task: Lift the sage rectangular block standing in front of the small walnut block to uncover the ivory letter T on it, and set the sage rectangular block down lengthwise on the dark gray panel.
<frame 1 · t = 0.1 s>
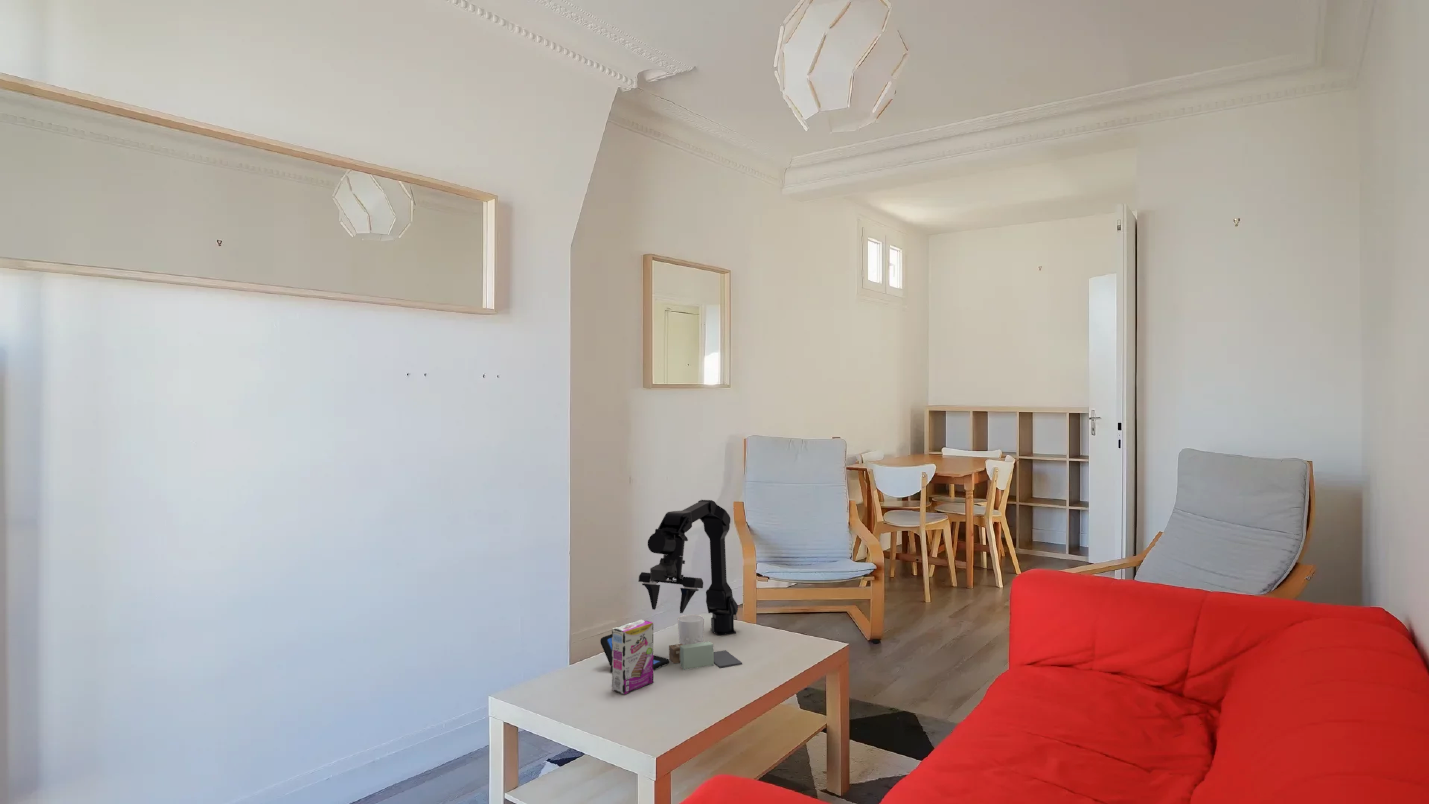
hand: (667, 611, 217), 15 cm above the table, fingers open, 9 cm apart
game console: (635, 667, 217), on the table
dark gray panel: (722, 659, 221), on the table
sage rectangular block: (697, 666, 216), on the table
white cup: (691, 652, 229), on the table
letter block: (677, 660, 221), on the table
candy bar box: (633, 687, 201), on the table
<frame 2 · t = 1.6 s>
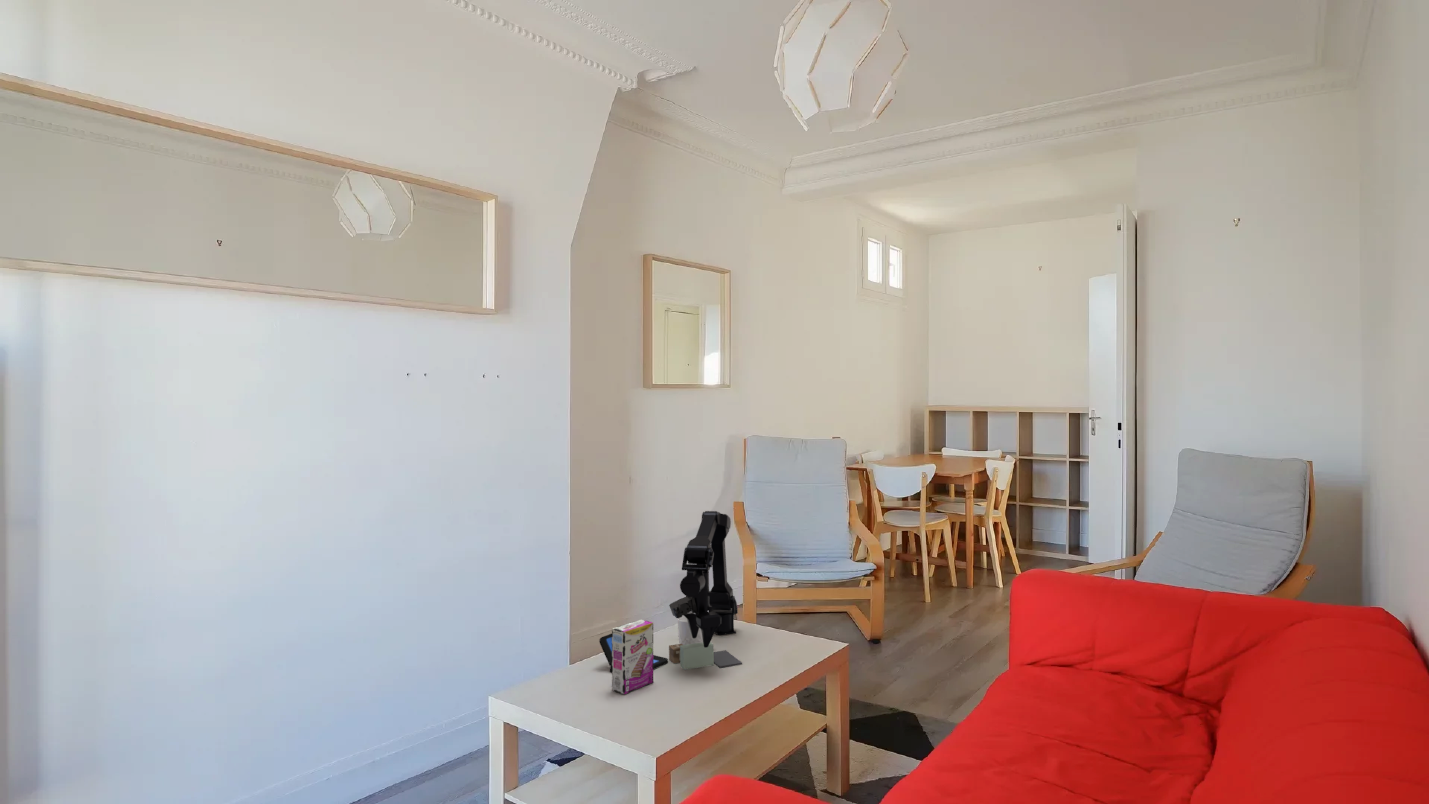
hand: (700, 642, 217), 6 cm above the table, fingers open, 9 cm apart
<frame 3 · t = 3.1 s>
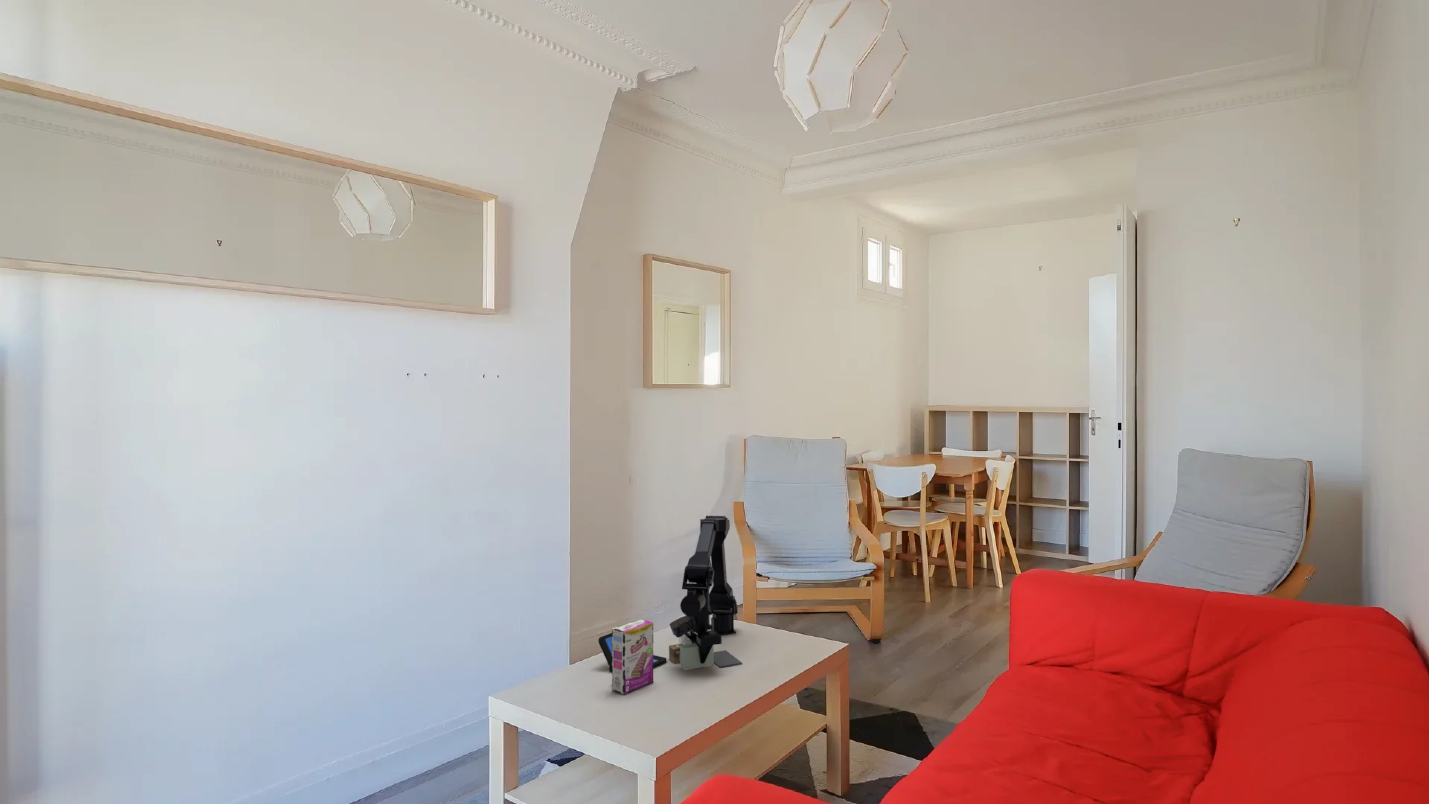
hand: (700, 661, 217), 1 cm above the table, fingers closed on sage rectangular block, 3 cm apart
sage rectangular block: (697, 665, 216), on the table, touching gripper
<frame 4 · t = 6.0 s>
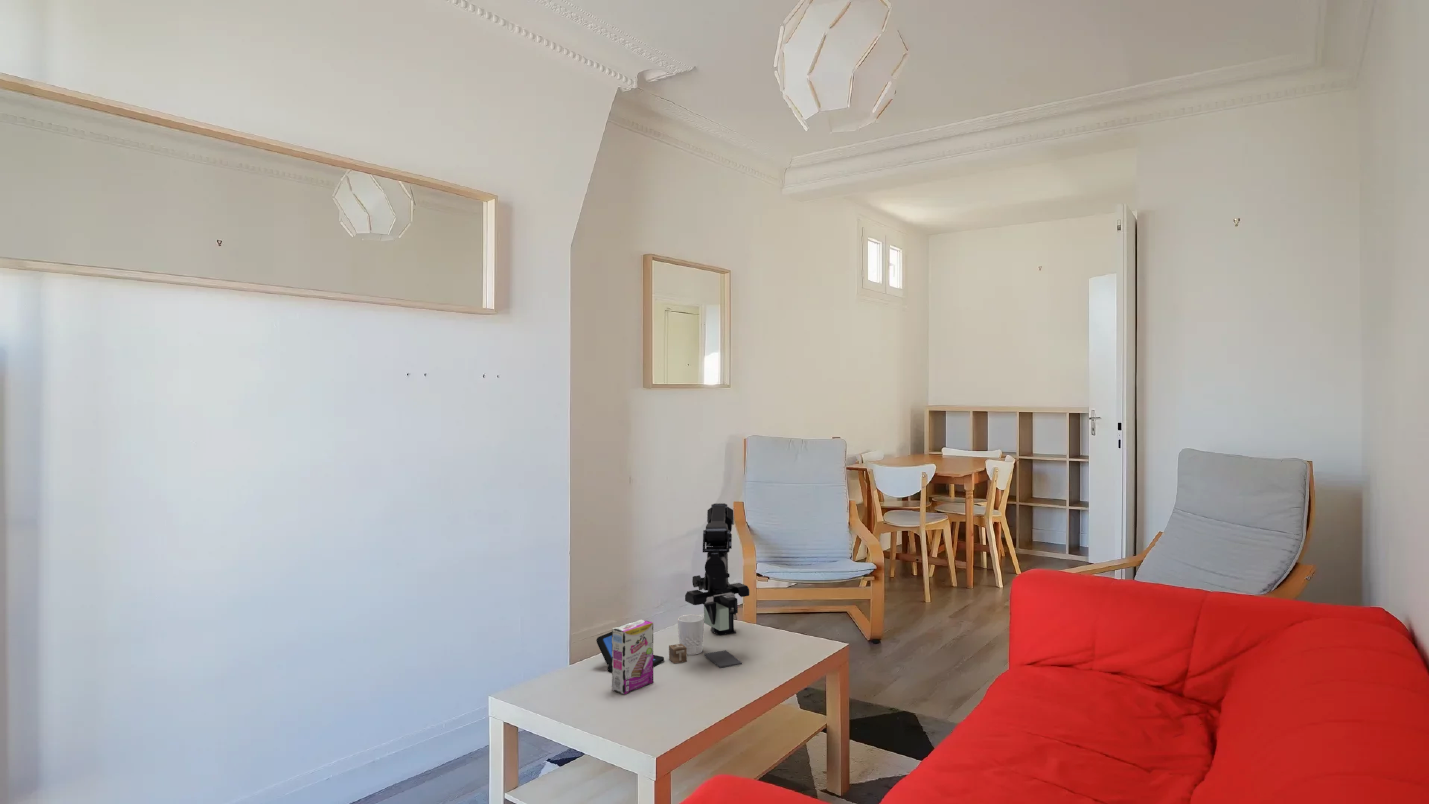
hand: (718, 623, 220), 11 cm above the table, fingers closed on sage rectangular block, 3 cm apart
sage rectangular block: (716, 625, 221), point 10 cm above the table, touching gripper
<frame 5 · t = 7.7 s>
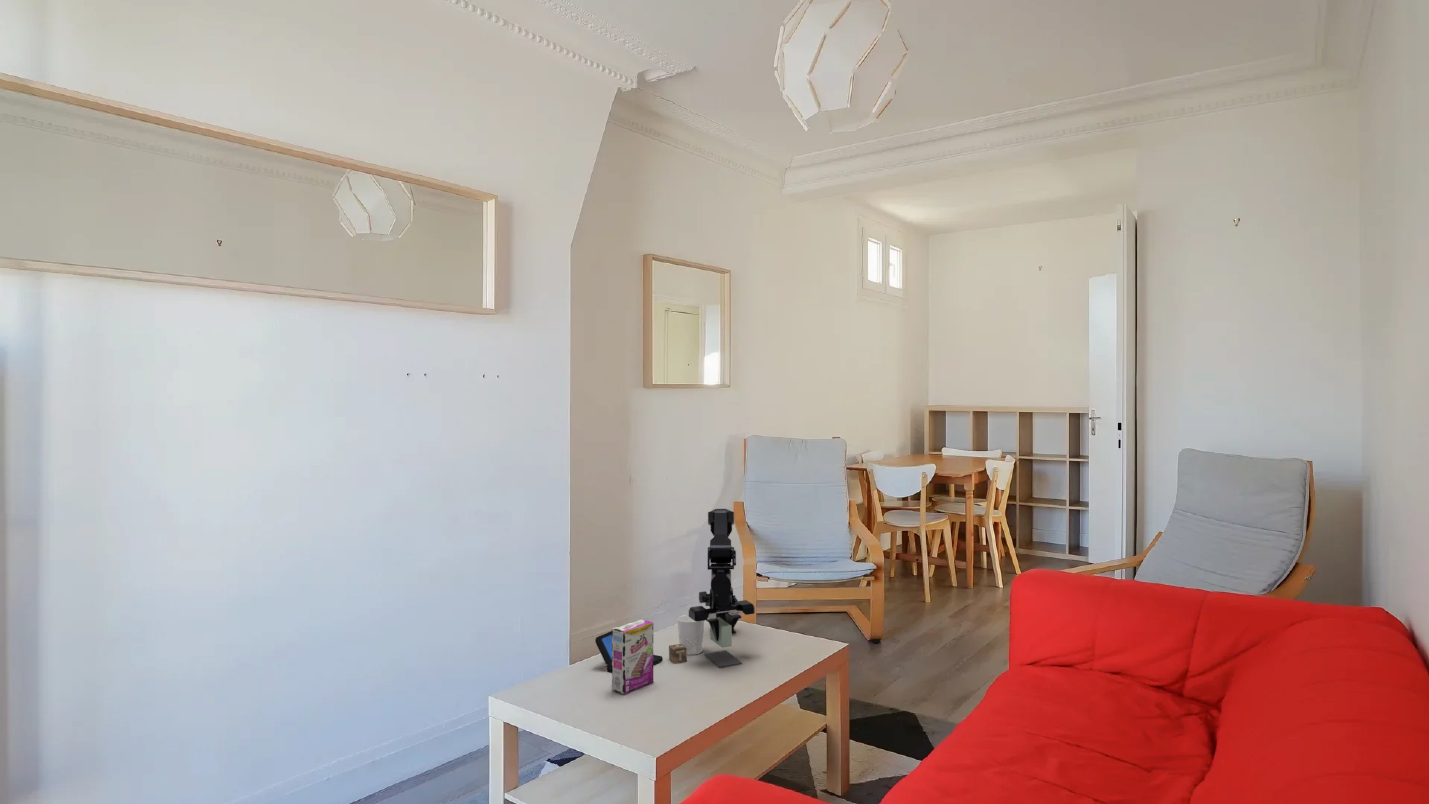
hand: (722, 640, 221), 6 cm above the table, fingers closed on sage rectangular block, 3 cm apart
sage rectangular block: (721, 642, 222), point 5 cm above the table, touching gripper
when the fingers open (3 cm above the table, at t = 8.8 s): sage rectangular block drops 1 cm, resting on dark gray panel.
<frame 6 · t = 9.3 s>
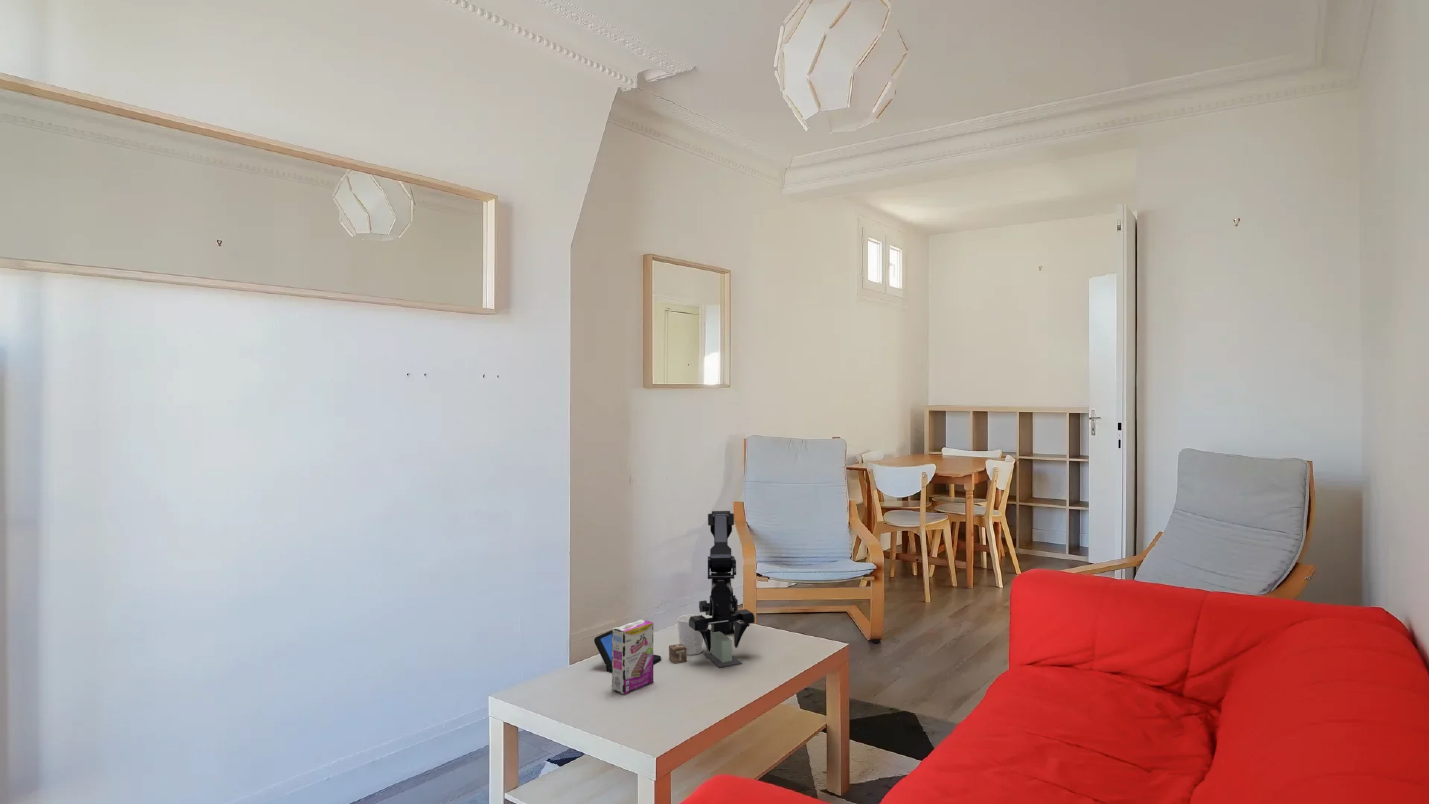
hand: (722, 649, 221), 3 cm above the table, fingers open, 8 cm apart
sage rectangular block: (721, 656, 222), resting on dark gray panel
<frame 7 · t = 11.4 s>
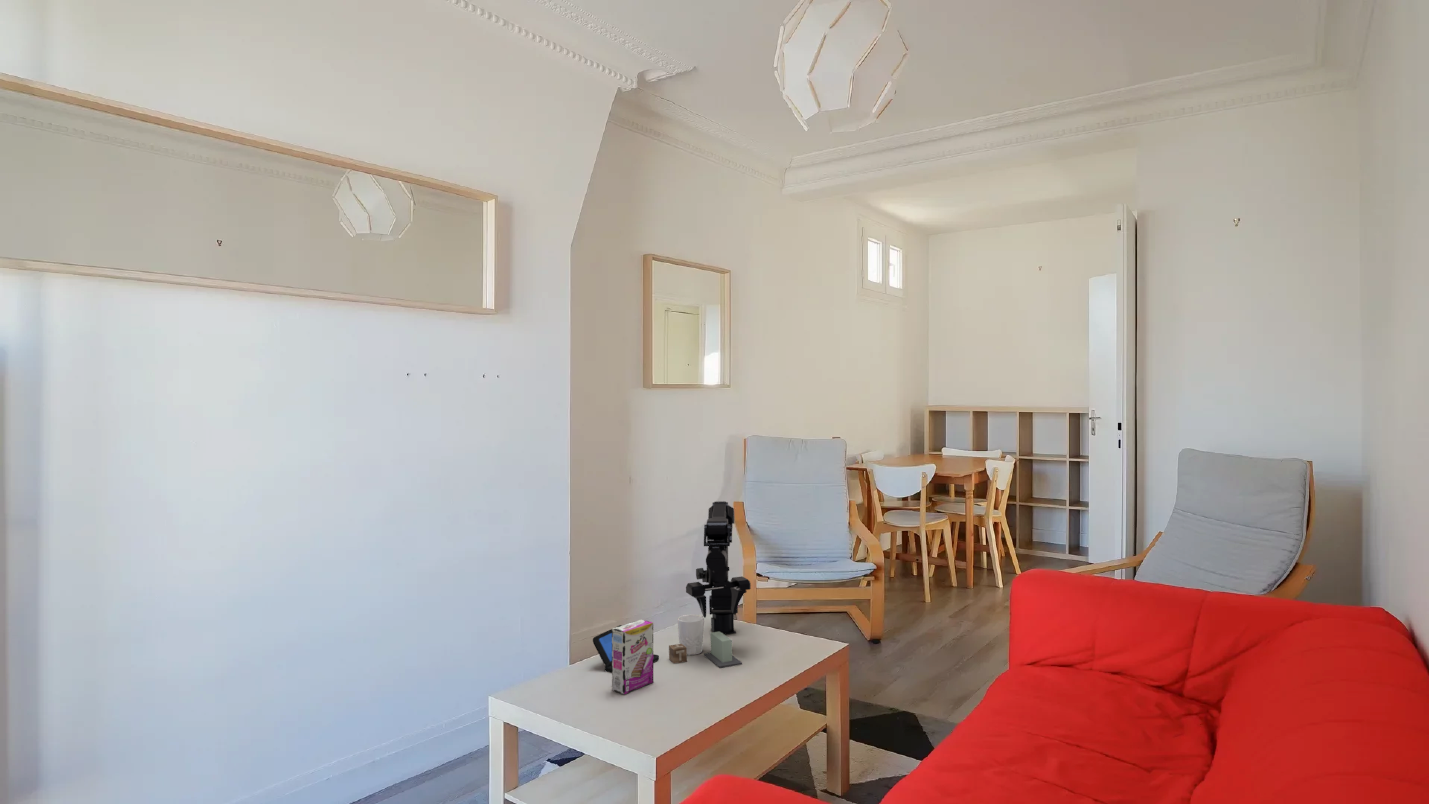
hand: (718, 615, 226), 12 cm above the table, fingers open, 9 cm apart
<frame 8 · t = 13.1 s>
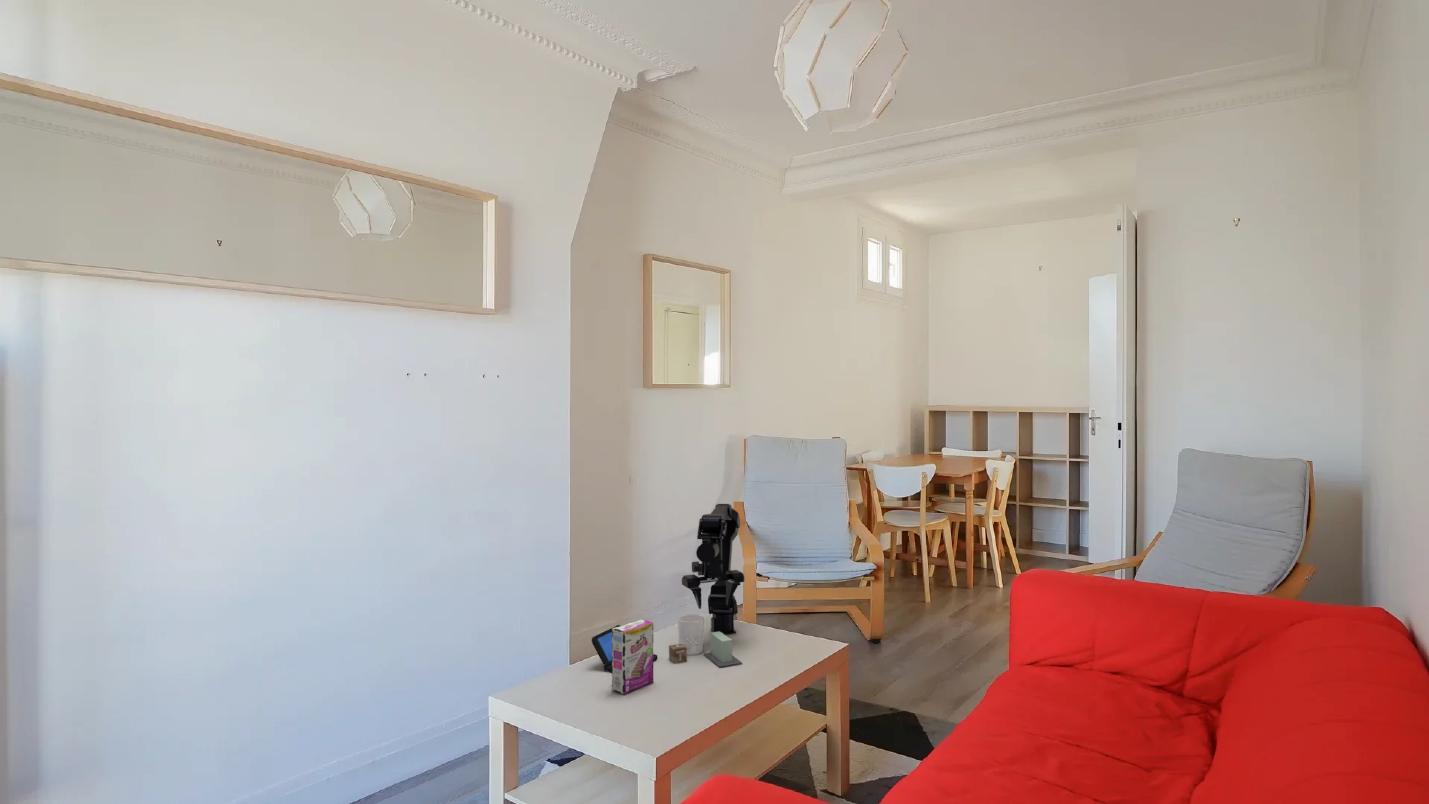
hand: (713, 606, 233), 12 cm above the table, fingers open, 9 cm apart
at the end: sage rectangular block inside the target area on the dark gray panel (1.0 cm from its centre), point 0.5 cm above the dark gray panel's base; sage rectangular block tilted 0°; the gripper is holding nothing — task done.
